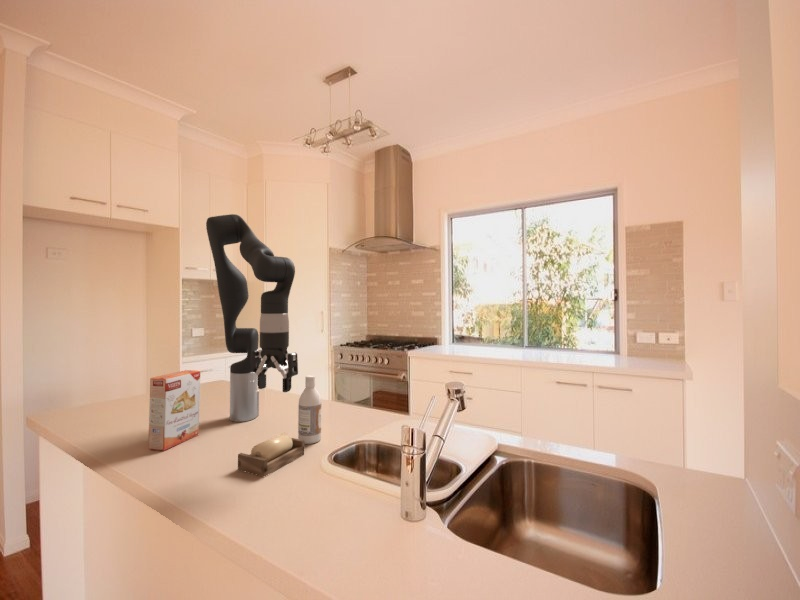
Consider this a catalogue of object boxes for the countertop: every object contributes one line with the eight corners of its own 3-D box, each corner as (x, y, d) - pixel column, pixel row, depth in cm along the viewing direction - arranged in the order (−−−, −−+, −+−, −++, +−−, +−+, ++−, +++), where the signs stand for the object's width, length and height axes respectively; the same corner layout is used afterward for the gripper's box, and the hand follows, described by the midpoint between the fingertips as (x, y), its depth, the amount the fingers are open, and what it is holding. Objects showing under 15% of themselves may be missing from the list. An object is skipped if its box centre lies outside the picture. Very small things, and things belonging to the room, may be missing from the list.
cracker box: (165, 451, 107) (166, 378, 107) (147, 449, 108) (148, 377, 108) (200, 434, 120) (201, 370, 121) (184, 433, 122) (185, 369, 122)
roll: (278, 449, 106) (278, 431, 106) (292, 452, 104) (292, 434, 104) (250, 463, 97) (250, 443, 97) (265, 467, 95) (266, 447, 95)
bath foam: (318, 444, 113) (319, 378, 113) (295, 444, 113) (296, 378, 113) (322, 436, 120) (323, 374, 120) (301, 436, 120) (301, 374, 120)
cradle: (279, 449, 109) (279, 435, 109) (304, 454, 105) (304, 440, 105) (237, 469, 96) (237, 454, 96) (264, 477, 92) (264, 460, 92)
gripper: (304, 330, 101) (304, 389, 101) (264, 328, 107) (264, 384, 107) (285, 332, 94) (284, 396, 94) (244, 330, 100) (243, 390, 100)
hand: (274, 390), depth 101 cm, fingers open, 8 cm apart
